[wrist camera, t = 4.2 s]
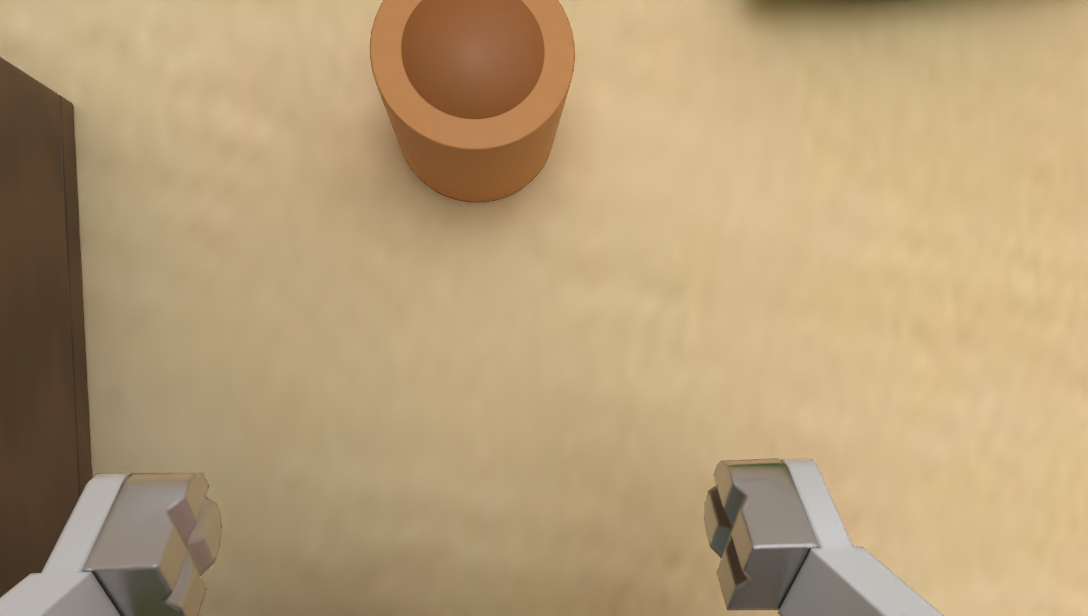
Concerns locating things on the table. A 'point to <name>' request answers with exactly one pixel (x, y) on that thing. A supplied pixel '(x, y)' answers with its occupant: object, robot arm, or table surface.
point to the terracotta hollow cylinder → (473, 88)
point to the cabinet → (38, 326)
